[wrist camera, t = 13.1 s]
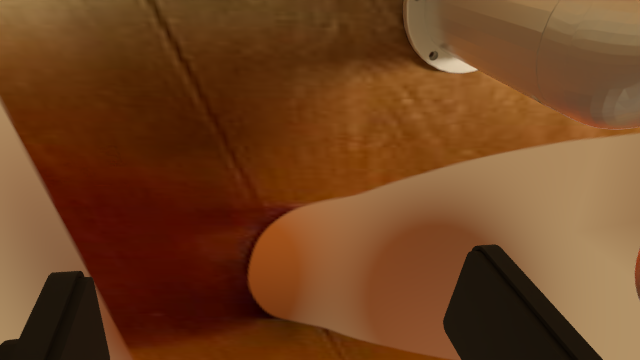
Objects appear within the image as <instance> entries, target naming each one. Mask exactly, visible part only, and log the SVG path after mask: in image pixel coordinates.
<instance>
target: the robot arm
mask: <svg viewBox="0 0 640 360" xmlns="http://www.w3.org/2000/svg"><path fill="white" fill-rule="evenodd" d="M403 19H404V27H405V31H406V34H407V37H408V40H409V42H410V44H411V46H412V47H413V49H414V51H415V52H416V53H417V54H418V55H419V56H420V58H421V59H423V60H424V61H425V62H427V63H428V64H429V65H431V66H433V67H435V68H437V69H438V70H441V71H445V72H448V73H459V74H462V73H469V72H474V71H477V70H479V71H481V72H483V73H485V74H487V75H489V76H491V77H493V78H495V79H496V80H498V81H500V82H502V83H504V84H506V85H508V86H510V87H512V88H513V89H515V90H517V91H519V92H521V93H523V94H525V95H527V96H529V97H530V98H532V99H534V100H536V101H538V102H540V103H542V104H544V105H546V106H548V107H550V108H552V109H554V110H556V111H558V112H560V113H561V114H563V115H565V116H567V117H569V118H571V119H573V120H575V121H578V122H580V123H582V124H585V125H588V126H592V127H596V128H603V129H614V130H615V129H629V128H636V127H640V0H404V1H403ZM430 53H431V55H430ZM429 55H430V56H429ZM635 286H636V291H637V294H638V298H639V300H640V249H639V252H638V256H637V259H636V265H635ZM443 324H444V330H445V332H446V334H447V336H448V337H449V339H450V341H451V342H452V344H453V346H454V348H455V349H456V351H457V353H458V355H459V356H460V358H461V360H603V359H602V358H601V357H600V356H599V355H598V354H597V353H596V352H595V350H594V349H593V348H592V347H591V346H590V345H589V344H588V343H587V342H586V341H585V339H584V338H583V337H582V336H581V335H580V334H579V333H578V332H577V331H576V330H575V328H573V326H572V325H571V324H570V323H569V322H568V321H567V320H566V319H565V317H564V316H563V315H562V314H561V313H560V312H559V311H558V310H557V309H556V308H555V306H554V305H553V304H552V303H551V302H550V301H549V300H548V299H547V298H546V297H545V296H544V294H543V293H542V292H541V291H540V290H539V289H538V288H537V287H536V286H535V285H534V283H533V282H532V281H531V280H530V279H529V278H528V277H527V276H526V275H525V274H524V272H523V271H522V270H521V269H520V268H519V267H518V266H517V265H516V264H515V263H514V262H513V260H512V259H511V258H510V257H509V256H508V255H507V254H506V253H505V252H504V251H503V249H502V248H501V247H499V246H498V245H481V246H475V247H474V248H473V249H472V251H471V252H469V253H468V254H467V257H466V259H465V262H464V265H463V268H462V270H461V273H460V276H459V278H458V281H457V284H456V287H455V290H454V292H453V295H452V297H451V300H450V303H449V306H448V308H447V311H446V314H445V317H444V320H443ZM0 360H110V355H109V350H108V346H107V341H106V336H105V332H104V328H103V323H102V318H101V313H100V308H99V304H98V299H97V294H96V290H95V285H94V281H93V278H92V277H84V274H83V272H81V271H71V272H56V273H51V274H50V275H49V276H48V278H47V280H46V282H45V284H44V287H43V289H42V291H41V293H40V295H39V297H38V299H37V302H36V304H35V306H34V308H33V310H32V312H31V314H30V316H29V319H28V321H27V323H26V325H25V327H24V329H23V332H22V334H21V336H20V338H19V339H14V340H7V341H4V342H3V343H2V344H1V345H0Z"/></svg>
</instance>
